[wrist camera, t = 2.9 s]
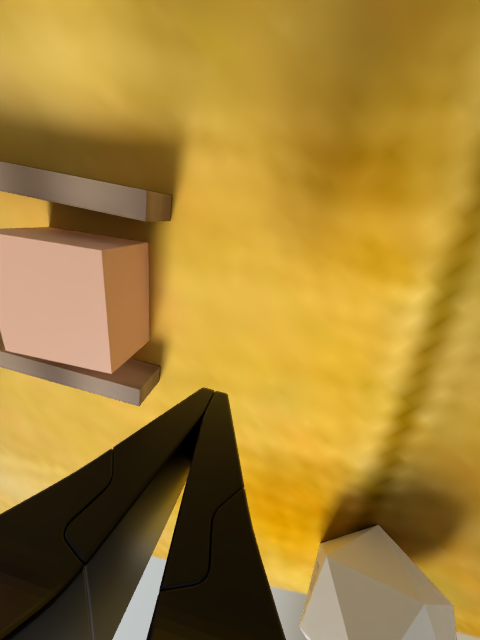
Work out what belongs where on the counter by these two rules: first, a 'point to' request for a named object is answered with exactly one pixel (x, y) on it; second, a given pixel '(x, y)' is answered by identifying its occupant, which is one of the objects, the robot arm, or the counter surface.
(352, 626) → the die
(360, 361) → the counter surface
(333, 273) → the counter surface
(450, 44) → the counter surface
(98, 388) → the corridor rails
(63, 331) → the block
